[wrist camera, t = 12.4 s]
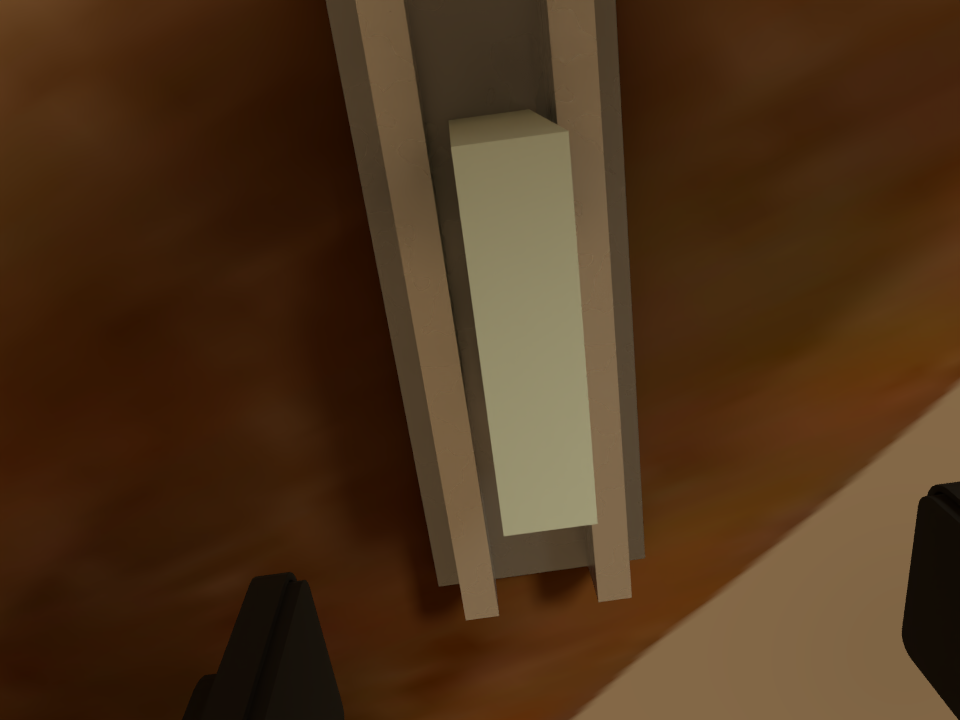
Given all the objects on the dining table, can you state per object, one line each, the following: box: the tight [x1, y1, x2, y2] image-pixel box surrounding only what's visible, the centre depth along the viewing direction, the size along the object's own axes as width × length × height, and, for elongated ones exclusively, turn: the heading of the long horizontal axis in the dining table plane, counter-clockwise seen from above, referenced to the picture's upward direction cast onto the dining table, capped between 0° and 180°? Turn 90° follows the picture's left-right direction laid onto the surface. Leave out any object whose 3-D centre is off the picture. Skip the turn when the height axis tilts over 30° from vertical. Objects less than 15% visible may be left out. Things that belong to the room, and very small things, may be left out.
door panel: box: [449, 109, 598, 536], centre depth 25 cm, size 12×3×9 cm, turn 7°
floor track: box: [326, 0, 645, 620], centre depth 28 cm, size 30×10×4 cm, turn 8°
